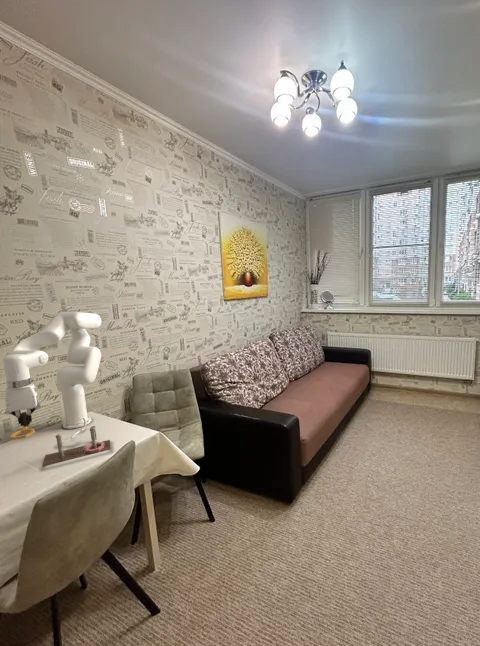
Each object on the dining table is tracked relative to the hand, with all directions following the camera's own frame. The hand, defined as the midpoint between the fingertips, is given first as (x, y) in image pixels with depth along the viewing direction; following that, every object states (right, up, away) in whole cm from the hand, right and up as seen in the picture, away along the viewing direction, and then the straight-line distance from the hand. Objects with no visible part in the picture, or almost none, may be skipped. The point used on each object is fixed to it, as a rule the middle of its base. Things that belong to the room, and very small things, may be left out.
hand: (25, 424), depth 132 cm
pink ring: (+26, -12, +6) cm, 29 cm away
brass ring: (+3, -2, -4) cm, 6 cm away
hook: (+10, -11, +17) cm, 23 cm away
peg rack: (+22, -14, +2) cm, 26 cm away
